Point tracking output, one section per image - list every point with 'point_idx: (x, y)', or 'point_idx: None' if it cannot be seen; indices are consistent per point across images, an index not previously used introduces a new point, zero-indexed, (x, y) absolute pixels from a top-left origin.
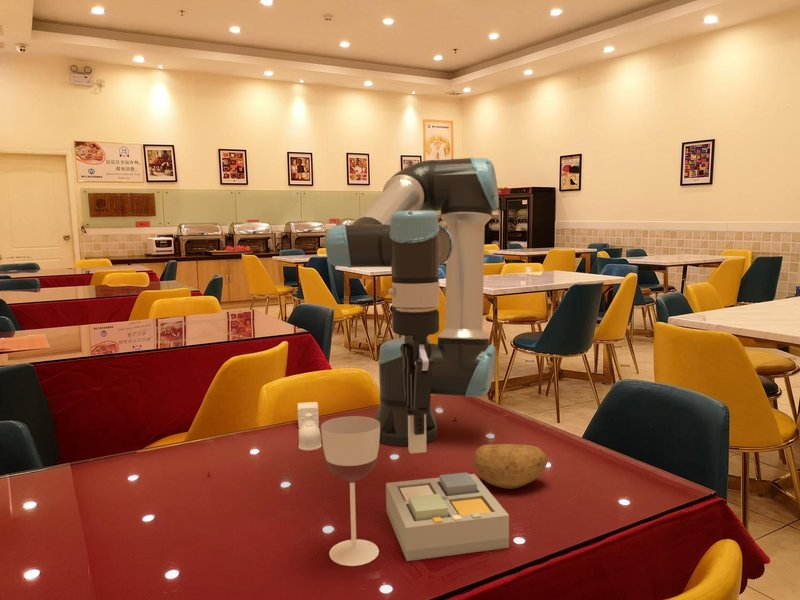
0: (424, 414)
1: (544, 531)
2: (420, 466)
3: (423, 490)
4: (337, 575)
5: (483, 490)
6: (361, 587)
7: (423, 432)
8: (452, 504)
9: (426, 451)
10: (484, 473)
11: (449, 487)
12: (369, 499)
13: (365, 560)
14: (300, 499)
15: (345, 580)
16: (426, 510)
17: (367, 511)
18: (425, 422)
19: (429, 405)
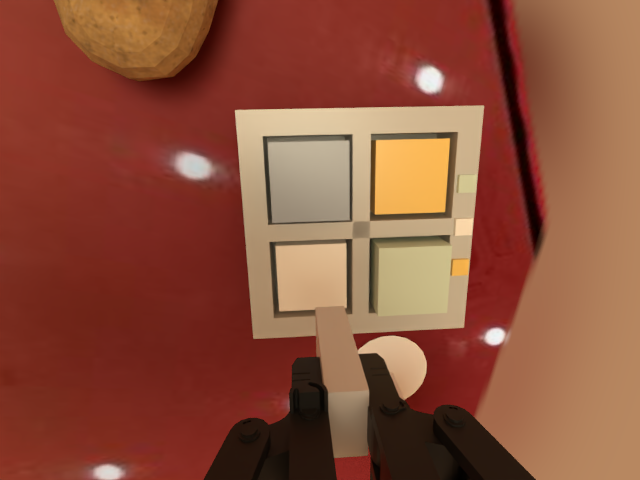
0: (367, 393)
1: (412, 6)
2: (18, 195)
3: (302, 262)
4: (442, 394)
5: (343, 121)
6: (481, 367)
7: (382, 359)
8: (382, 213)
9: (343, 306)
10: (187, 64)
11: (348, 215)
12: (199, 332)
13: (419, 357)
14: (181, 446)
15: (458, 385)
16: (448, 291)
17: (251, 340)
18: (360, 365)
19: (496, 443)
